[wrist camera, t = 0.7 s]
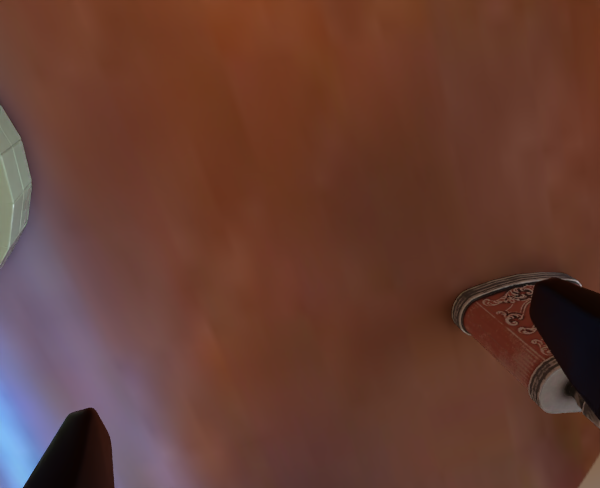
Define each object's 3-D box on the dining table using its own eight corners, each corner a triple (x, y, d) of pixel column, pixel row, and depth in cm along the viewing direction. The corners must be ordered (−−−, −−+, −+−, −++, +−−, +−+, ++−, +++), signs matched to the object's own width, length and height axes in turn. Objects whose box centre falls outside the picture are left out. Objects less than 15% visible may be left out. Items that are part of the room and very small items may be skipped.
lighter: (449, 336, 29) (575, 467, 21) (454, 285, 28) (590, 401, 19) (566, 313, 31) (730, 426, 22) (576, 264, 30) (754, 362, 21)
